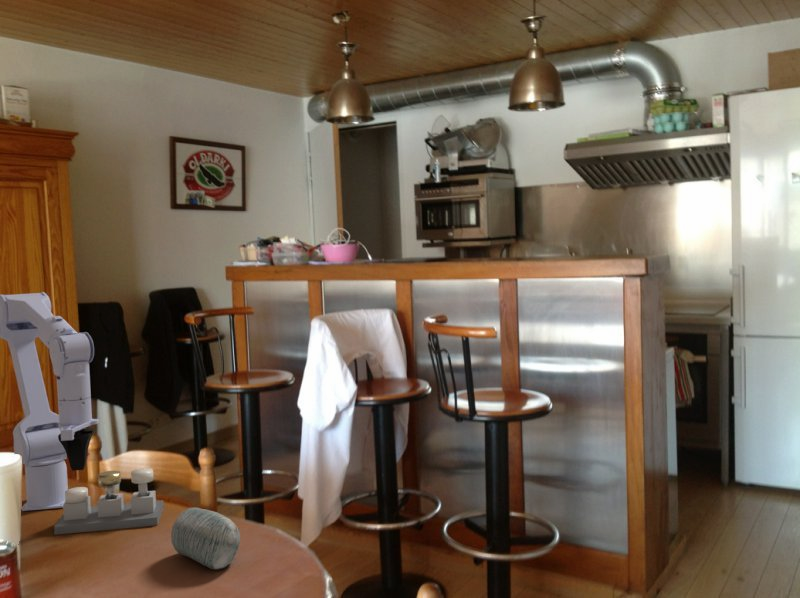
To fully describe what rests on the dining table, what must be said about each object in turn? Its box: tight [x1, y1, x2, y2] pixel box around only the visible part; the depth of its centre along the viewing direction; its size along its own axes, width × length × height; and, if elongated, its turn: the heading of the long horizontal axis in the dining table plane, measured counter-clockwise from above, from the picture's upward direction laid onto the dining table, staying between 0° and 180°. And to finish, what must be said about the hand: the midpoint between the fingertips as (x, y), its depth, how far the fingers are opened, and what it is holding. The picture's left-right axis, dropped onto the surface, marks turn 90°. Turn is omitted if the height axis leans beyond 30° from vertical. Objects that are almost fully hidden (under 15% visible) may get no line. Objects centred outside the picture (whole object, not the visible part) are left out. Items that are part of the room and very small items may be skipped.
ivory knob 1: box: [65, 486, 89, 503], centre depth 143 cm, size 4×4×5 cm
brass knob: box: [97, 470, 122, 500], centre depth 144 cm, size 4×4×5 cm
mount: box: [53, 490, 164, 536], centre depth 144 cm, size 10×18×4 cm, turn 101°
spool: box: [170, 507, 241, 571], centre depth 124 cm, size 14×10×10 cm
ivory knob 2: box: [130, 467, 154, 497], centre depth 145 cm, size 4×4×5 cm
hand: (78, 469), depth 143 cm, fingers closed
